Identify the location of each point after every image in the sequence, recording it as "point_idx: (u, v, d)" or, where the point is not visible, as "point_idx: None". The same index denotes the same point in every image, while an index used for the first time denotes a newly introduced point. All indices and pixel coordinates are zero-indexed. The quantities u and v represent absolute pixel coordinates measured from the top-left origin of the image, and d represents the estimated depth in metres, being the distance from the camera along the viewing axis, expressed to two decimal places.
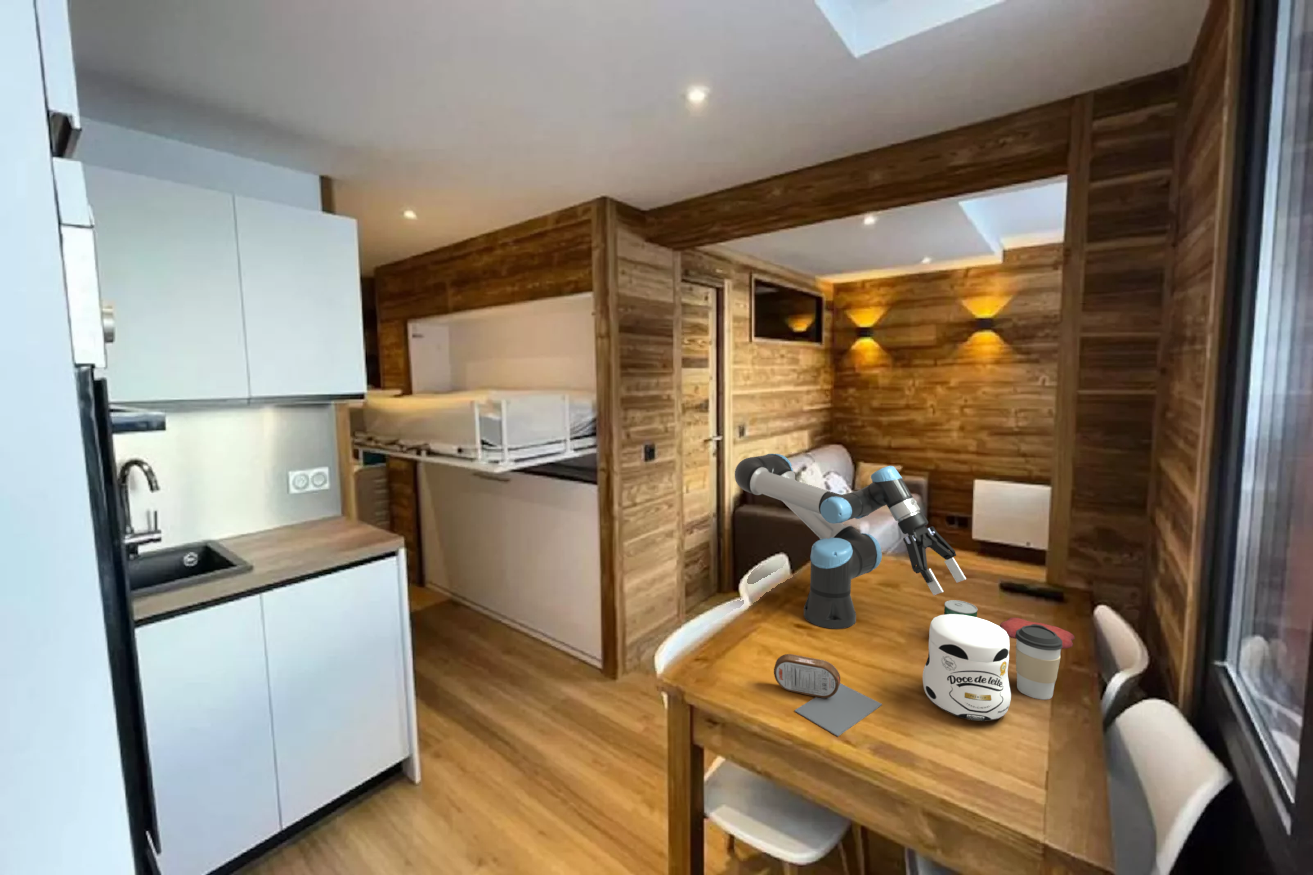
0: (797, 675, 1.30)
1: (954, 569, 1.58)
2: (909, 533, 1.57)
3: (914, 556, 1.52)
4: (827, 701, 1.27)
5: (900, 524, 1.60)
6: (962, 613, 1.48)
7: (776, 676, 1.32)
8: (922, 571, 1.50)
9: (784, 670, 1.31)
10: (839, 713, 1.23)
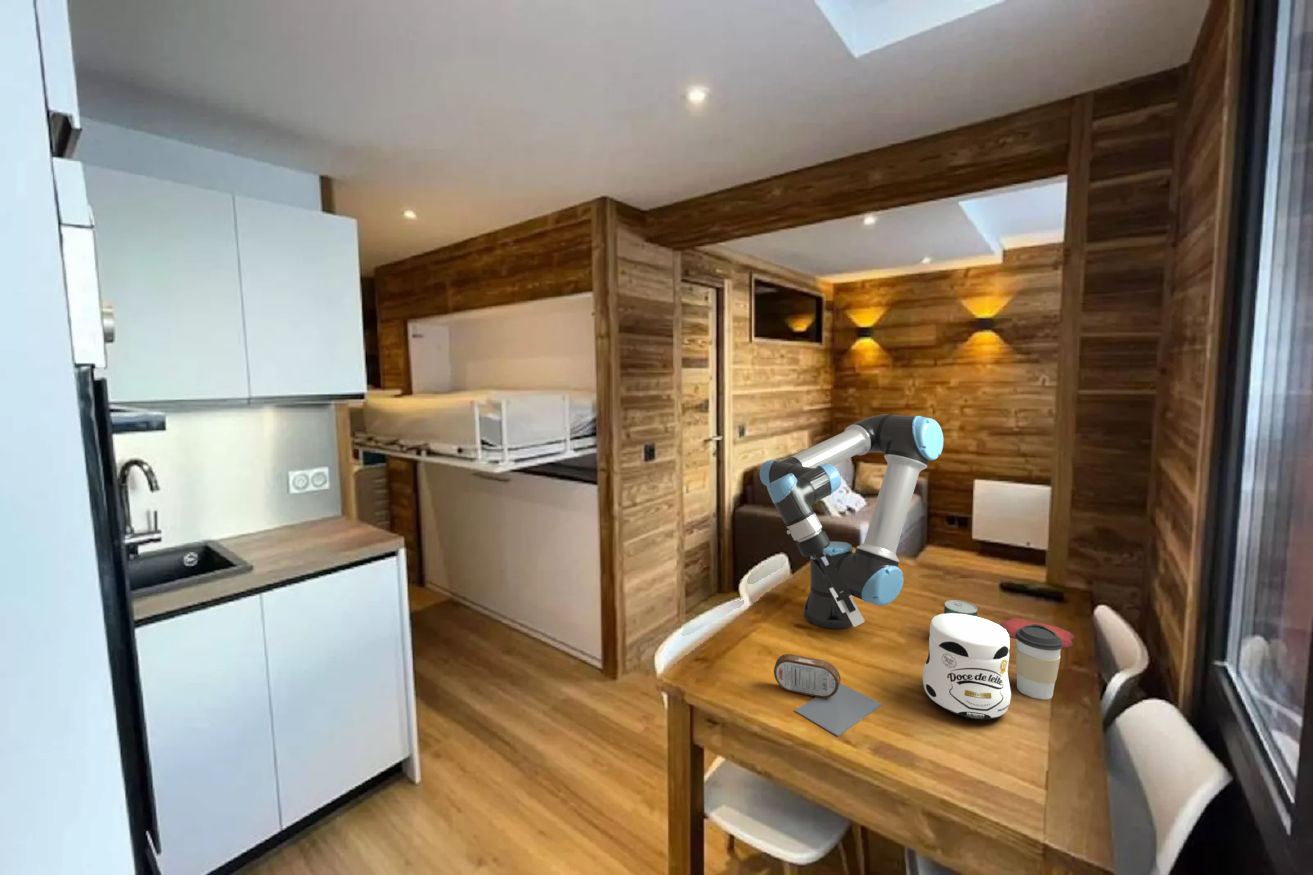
0: (797, 675, 1.30)
1: None
2: None
3: None
4: (827, 701, 1.27)
5: None
6: (962, 613, 1.48)
7: (776, 676, 1.32)
8: None
9: (784, 670, 1.31)
10: (839, 713, 1.23)
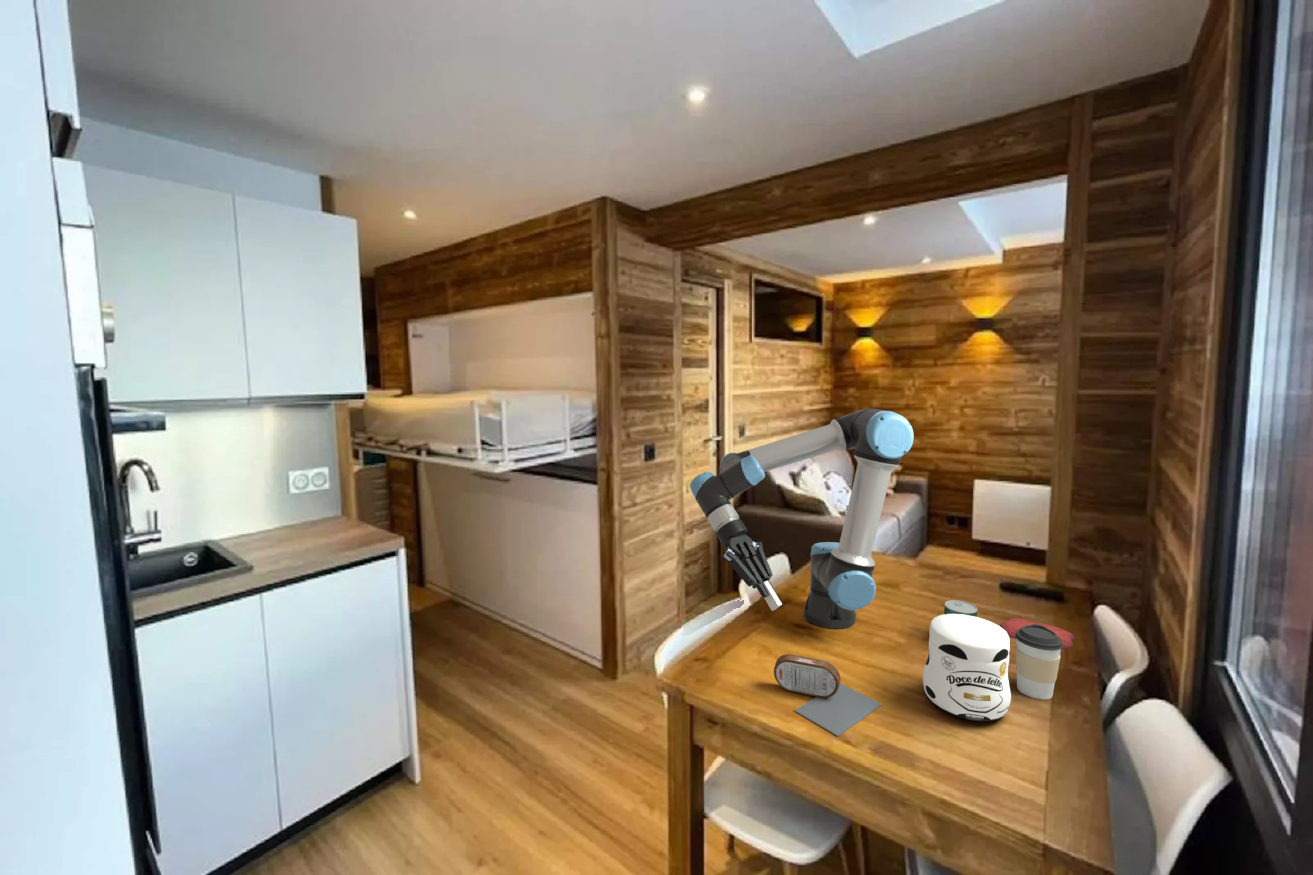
0: (797, 675, 1.30)
1: None
2: None
3: None
4: (827, 701, 1.27)
5: None
6: (962, 613, 1.48)
7: (776, 676, 1.32)
8: None
9: (784, 670, 1.31)
10: (839, 713, 1.23)
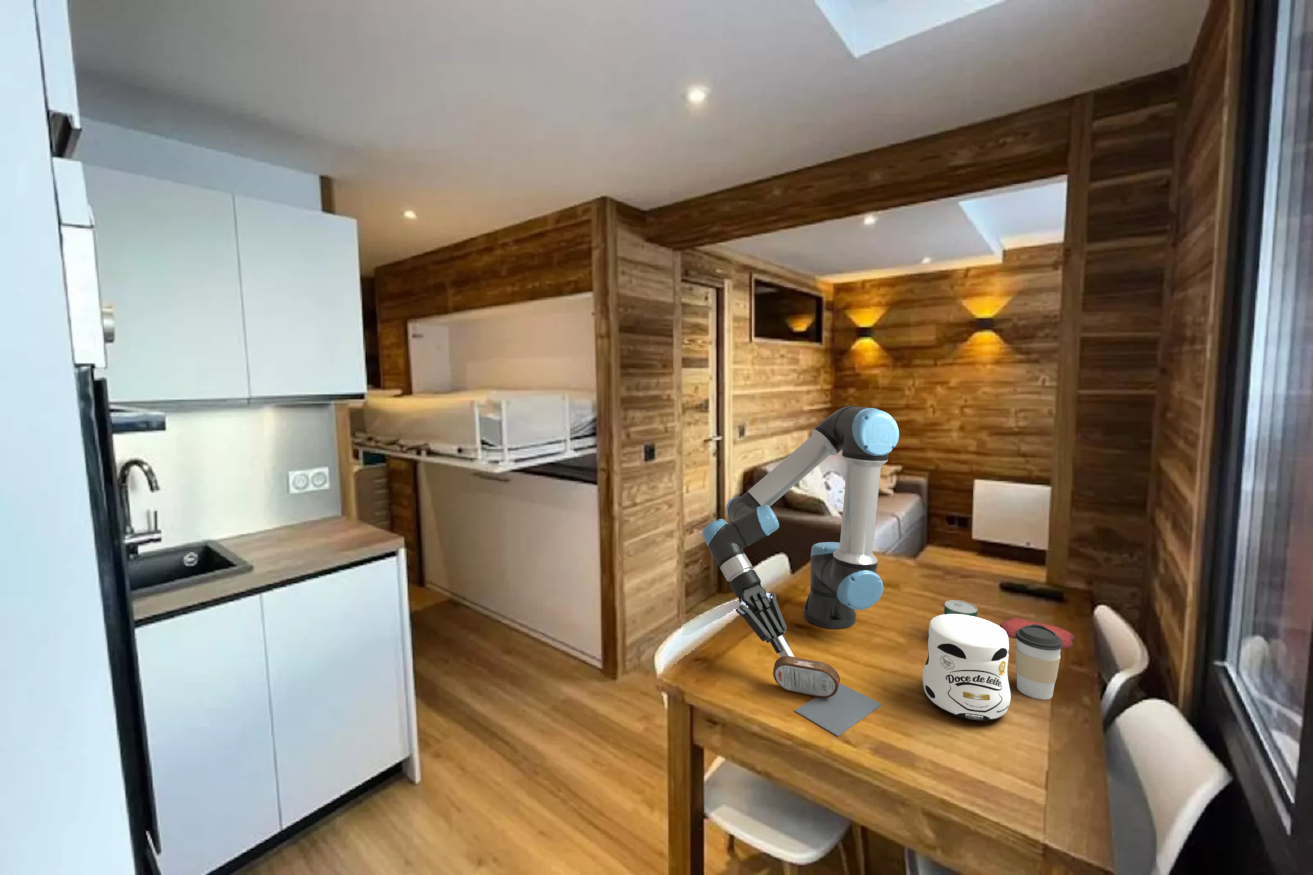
0: (796, 677, 1.29)
1: None
2: None
3: None
4: (827, 701, 1.27)
5: None
6: (962, 613, 1.48)
7: (775, 677, 1.32)
8: None
9: (783, 672, 1.30)
10: (839, 713, 1.23)
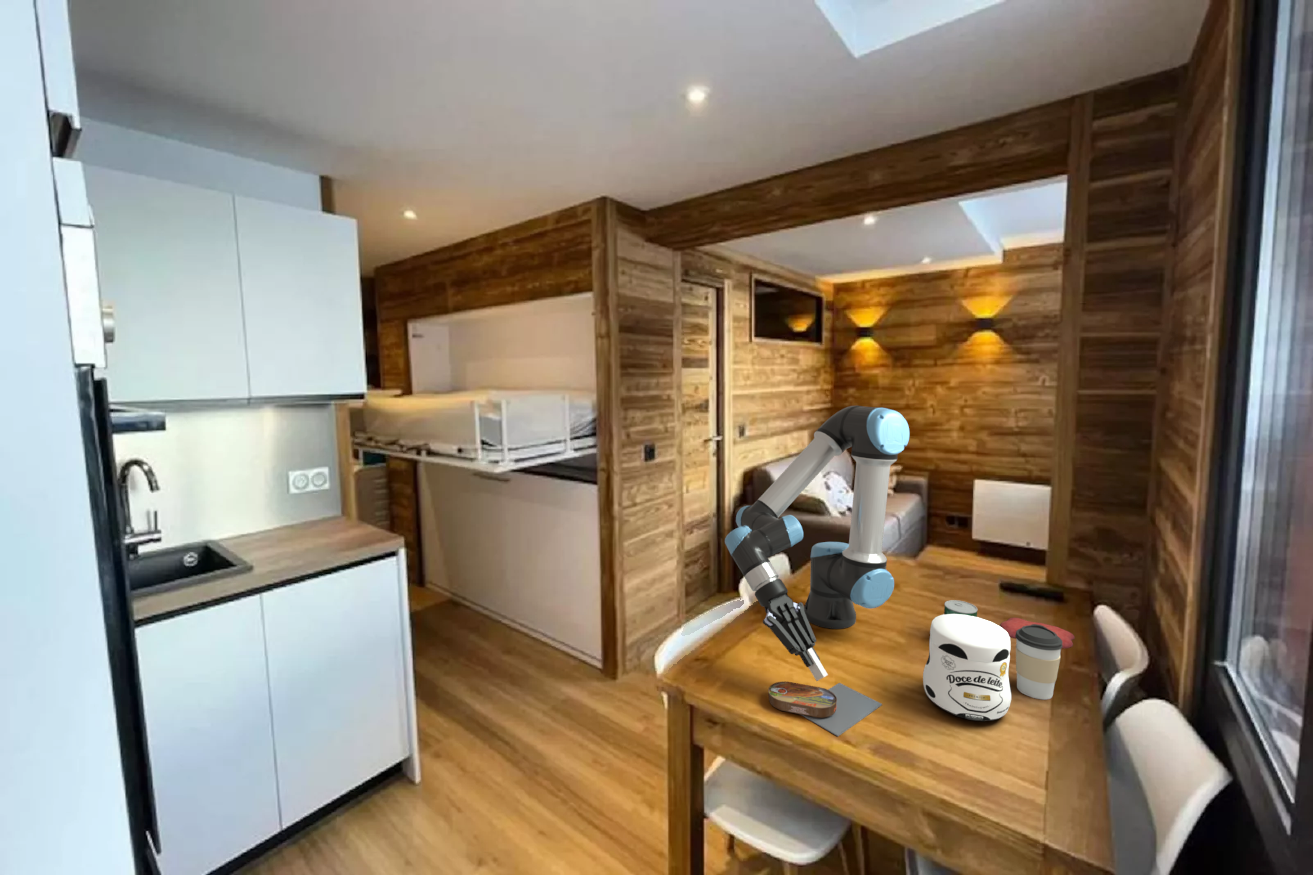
0: None
1: None
2: None
3: None
4: None
5: None
6: (962, 613, 1.48)
7: None
8: None
9: None
10: (839, 713, 1.23)
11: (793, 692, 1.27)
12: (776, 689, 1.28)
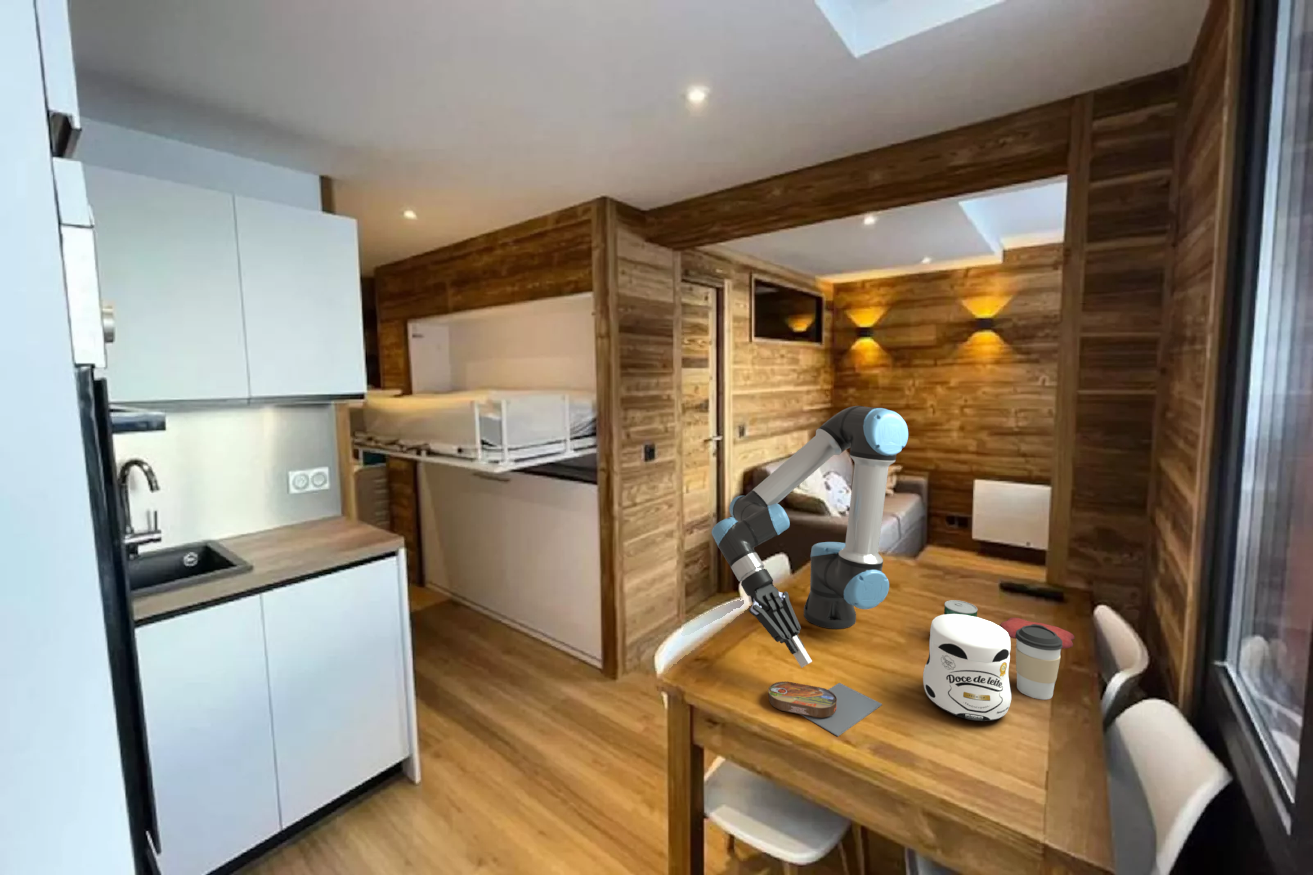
0: None
1: None
2: None
3: None
4: None
5: None
6: (962, 613, 1.48)
7: None
8: None
9: None
10: (839, 713, 1.23)
11: (793, 692, 1.27)
12: (776, 689, 1.28)
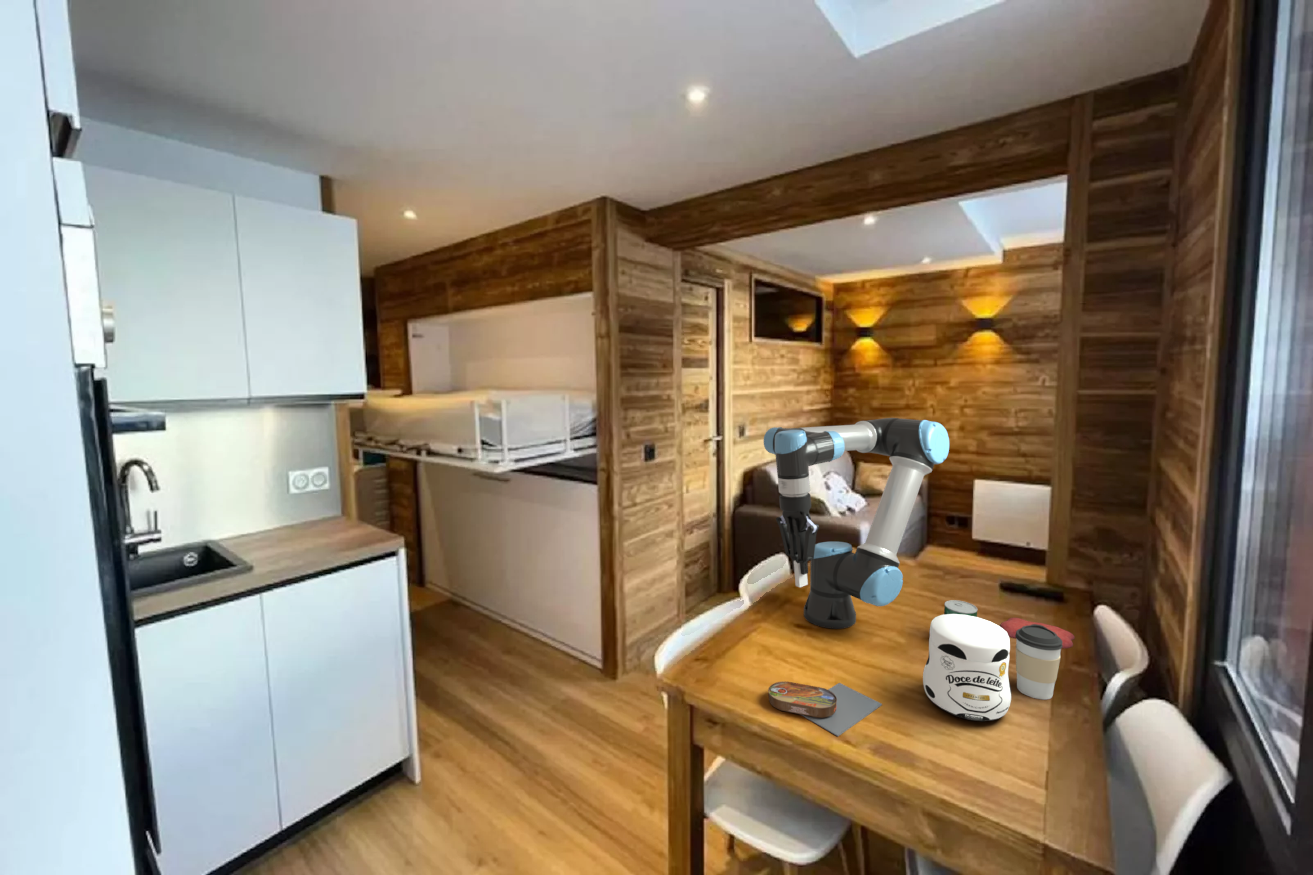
0: None
1: None
2: None
3: None
4: None
5: None
6: (962, 613, 1.48)
7: None
8: None
9: None
10: (839, 713, 1.23)
11: (793, 692, 1.27)
12: (776, 689, 1.28)
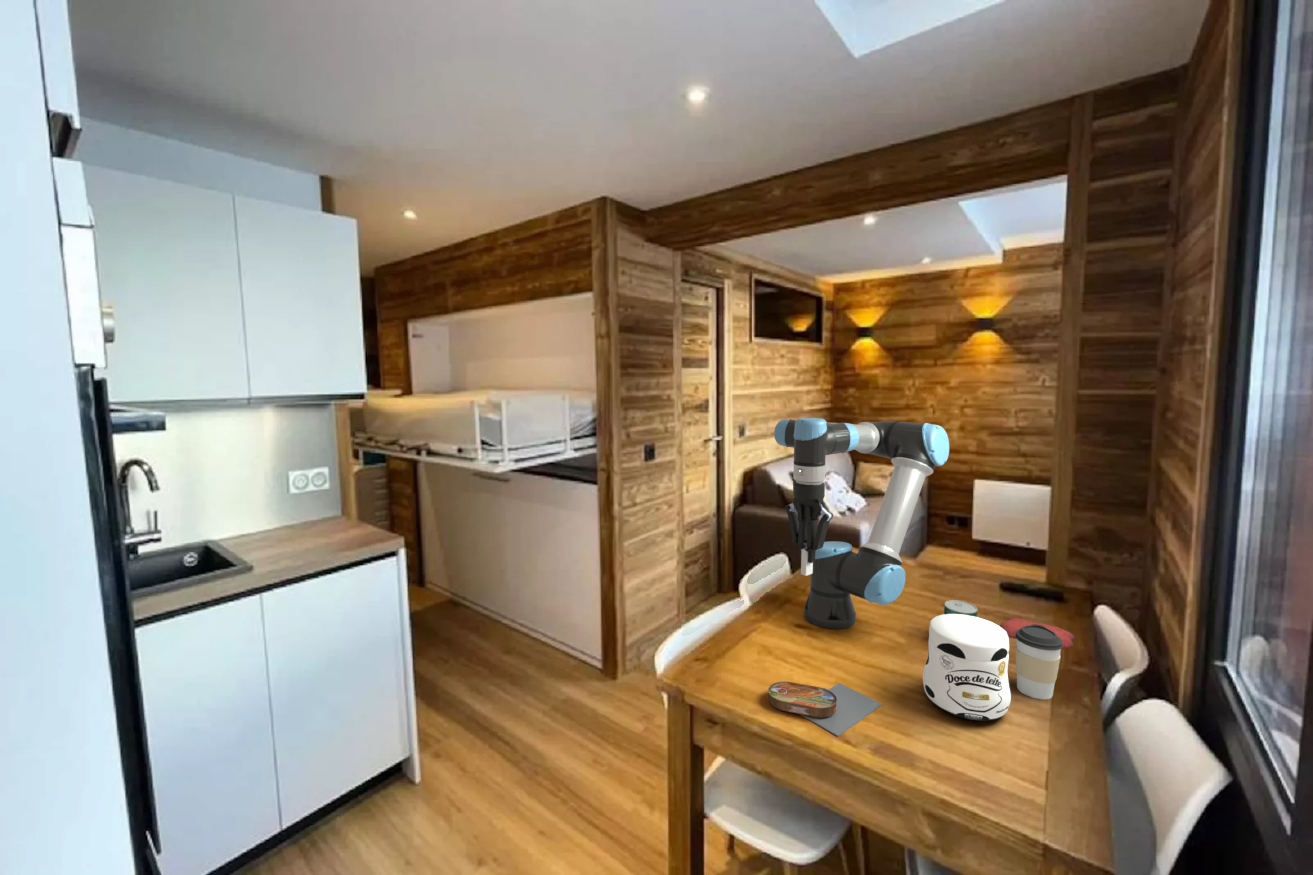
0: None
1: None
2: None
3: None
4: None
5: None
6: (962, 613, 1.48)
7: None
8: None
9: None
10: (839, 713, 1.23)
11: (793, 692, 1.27)
12: (776, 689, 1.28)
